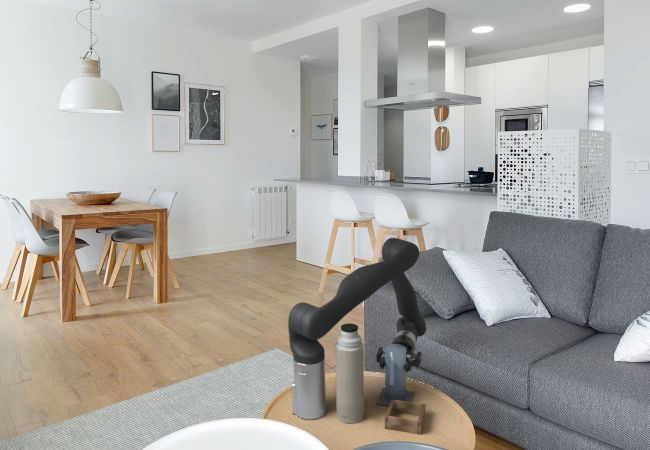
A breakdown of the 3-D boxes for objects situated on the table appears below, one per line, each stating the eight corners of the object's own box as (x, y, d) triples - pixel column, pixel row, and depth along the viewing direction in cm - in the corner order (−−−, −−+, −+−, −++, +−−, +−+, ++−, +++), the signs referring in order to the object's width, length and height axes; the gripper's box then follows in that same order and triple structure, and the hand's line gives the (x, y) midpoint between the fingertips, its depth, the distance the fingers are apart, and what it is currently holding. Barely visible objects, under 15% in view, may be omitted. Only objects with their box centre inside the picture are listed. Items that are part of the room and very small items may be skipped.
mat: (376, 404, 158) (376, 403, 158) (382, 388, 167) (382, 387, 167) (409, 409, 155) (409, 407, 155) (414, 393, 164) (414, 391, 164)
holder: (384, 428, 146) (384, 417, 145) (391, 409, 155) (391, 399, 154) (420, 434, 142) (420, 422, 142) (425, 415, 152) (425, 404, 151)
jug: (381, 405, 156) (381, 355, 153) (387, 390, 165) (387, 342, 162) (402, 408, 154) (402, 357, 151) (407, 393, 163) (407, 345, 160)
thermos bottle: (331, 417, 152) (329, 327, 146) (347, 405, 158) (346, 318, 152) (353, 426, 147) (352, 333, 141) (369, 414, 153) (368, 324, 147)
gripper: (382, 332, 173) (371, 353, 158) (425, 336, 169) (418, 359, 154) (382, 353, 175) (371, 376, 159) (425, 358, 170) (418, 382, 155)
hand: (394, 367), depth 157 cm, fingers open, 7 cm apart
